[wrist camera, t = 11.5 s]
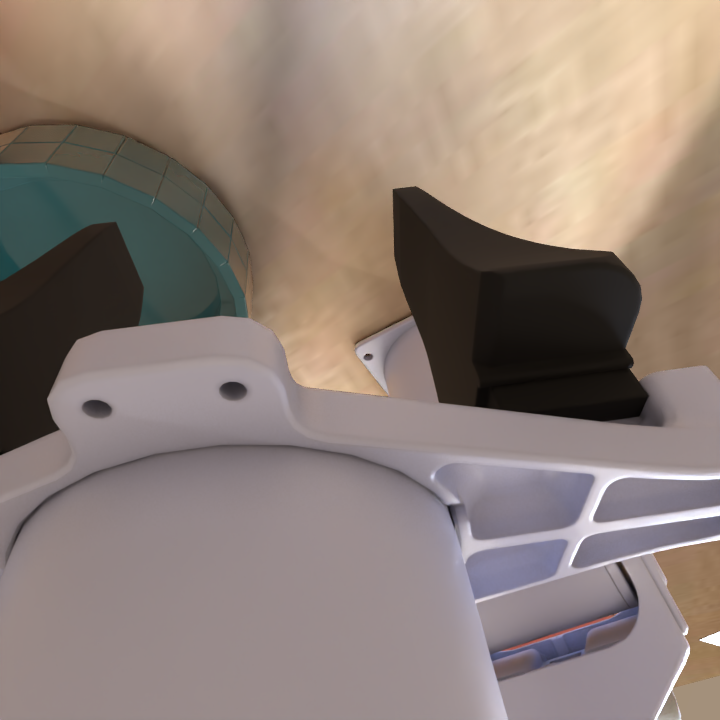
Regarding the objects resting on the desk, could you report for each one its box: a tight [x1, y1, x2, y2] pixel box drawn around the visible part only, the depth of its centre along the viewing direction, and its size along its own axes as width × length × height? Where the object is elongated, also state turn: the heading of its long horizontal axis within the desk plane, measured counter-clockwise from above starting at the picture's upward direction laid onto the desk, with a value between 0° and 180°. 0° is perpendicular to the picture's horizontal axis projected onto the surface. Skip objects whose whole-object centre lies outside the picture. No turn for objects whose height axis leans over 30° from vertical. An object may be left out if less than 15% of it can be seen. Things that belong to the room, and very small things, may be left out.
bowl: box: [0, 125, 253, 326], centre depth 23 cm, size 13×13×4 cm
